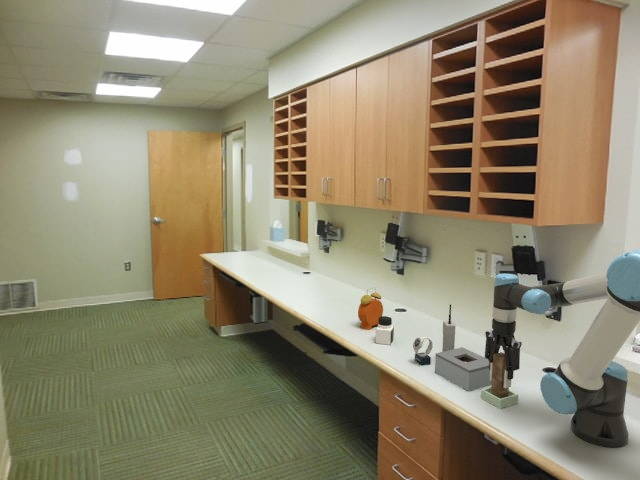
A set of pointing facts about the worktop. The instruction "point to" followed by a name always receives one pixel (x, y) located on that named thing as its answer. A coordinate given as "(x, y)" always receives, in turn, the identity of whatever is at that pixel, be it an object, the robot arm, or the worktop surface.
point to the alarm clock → (370, 310)
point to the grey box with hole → (463, 368)
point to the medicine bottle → (385, 331)
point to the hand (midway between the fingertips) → (500, 383)
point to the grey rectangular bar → (448, 334)
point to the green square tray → (497, 401)
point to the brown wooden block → (499, 376)
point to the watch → (422, 357)
